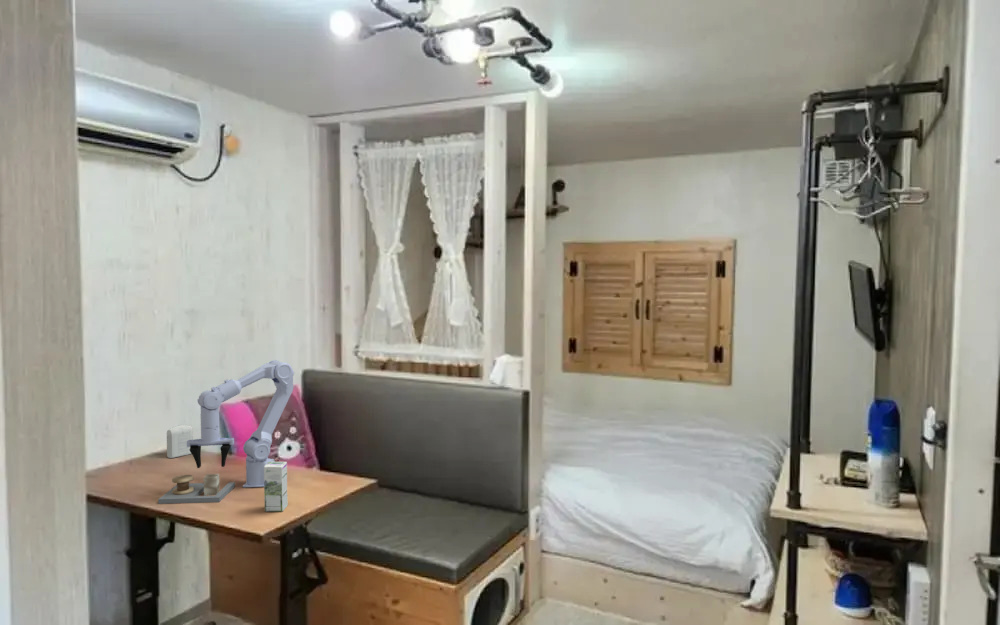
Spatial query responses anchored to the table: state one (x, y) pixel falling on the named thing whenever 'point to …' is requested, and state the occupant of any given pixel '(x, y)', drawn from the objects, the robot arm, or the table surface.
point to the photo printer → (179, 441)
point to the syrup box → (275, 486)
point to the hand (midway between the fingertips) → (211, 466)
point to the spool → (182, 485)
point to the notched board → (195, 495)
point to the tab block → (211, 484)
